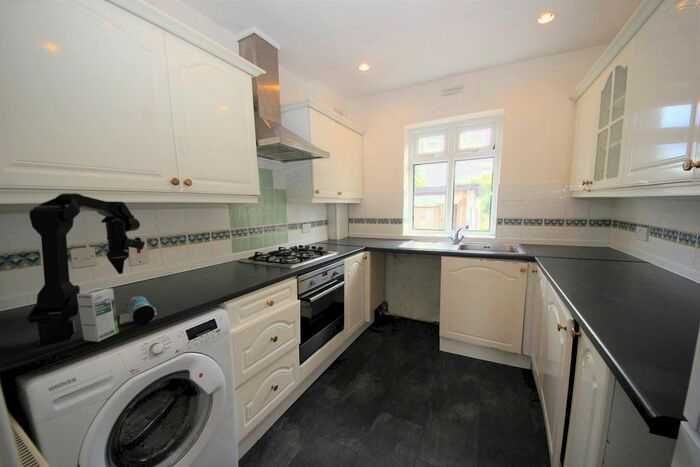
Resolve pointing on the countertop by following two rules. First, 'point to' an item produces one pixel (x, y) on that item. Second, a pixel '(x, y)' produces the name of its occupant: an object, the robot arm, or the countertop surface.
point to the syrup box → (97, 314)
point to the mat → (128, 317)
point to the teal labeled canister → (140, 309)
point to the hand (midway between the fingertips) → (121, 271)
